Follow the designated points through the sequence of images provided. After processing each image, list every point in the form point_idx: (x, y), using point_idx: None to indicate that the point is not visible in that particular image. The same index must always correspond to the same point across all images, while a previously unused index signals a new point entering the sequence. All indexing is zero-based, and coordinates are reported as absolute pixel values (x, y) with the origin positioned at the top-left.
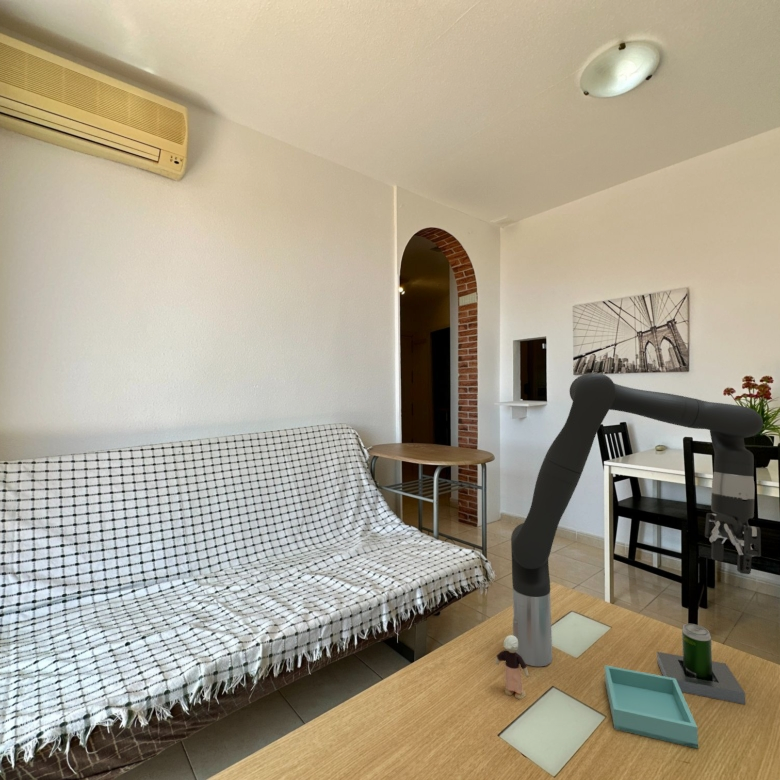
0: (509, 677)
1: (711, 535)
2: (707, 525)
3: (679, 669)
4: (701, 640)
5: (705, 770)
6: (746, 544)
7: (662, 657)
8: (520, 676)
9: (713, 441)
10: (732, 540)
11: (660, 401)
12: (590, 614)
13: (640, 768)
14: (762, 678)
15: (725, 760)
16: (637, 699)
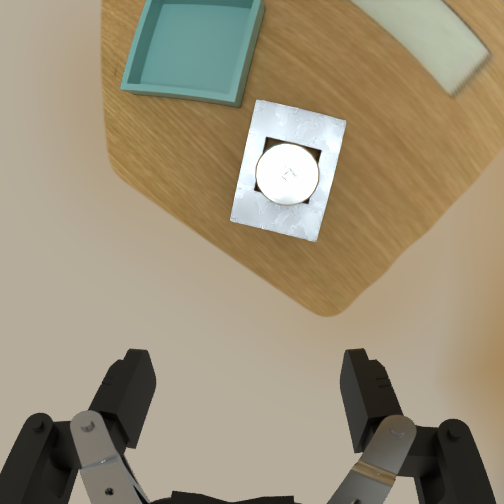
0: None
1: (405, 457)
2: (472, 496)
3: (288, 135)
4: (255, 169)
5: (105, 90)
6: (21, 458)
7: (326, 121)
8: None
9: None
10: (107, 477)
11: None
12: (486, 82)
13: (106, 22)
14: (305, 291)
15: (120, 121)
16: (214, 38)
